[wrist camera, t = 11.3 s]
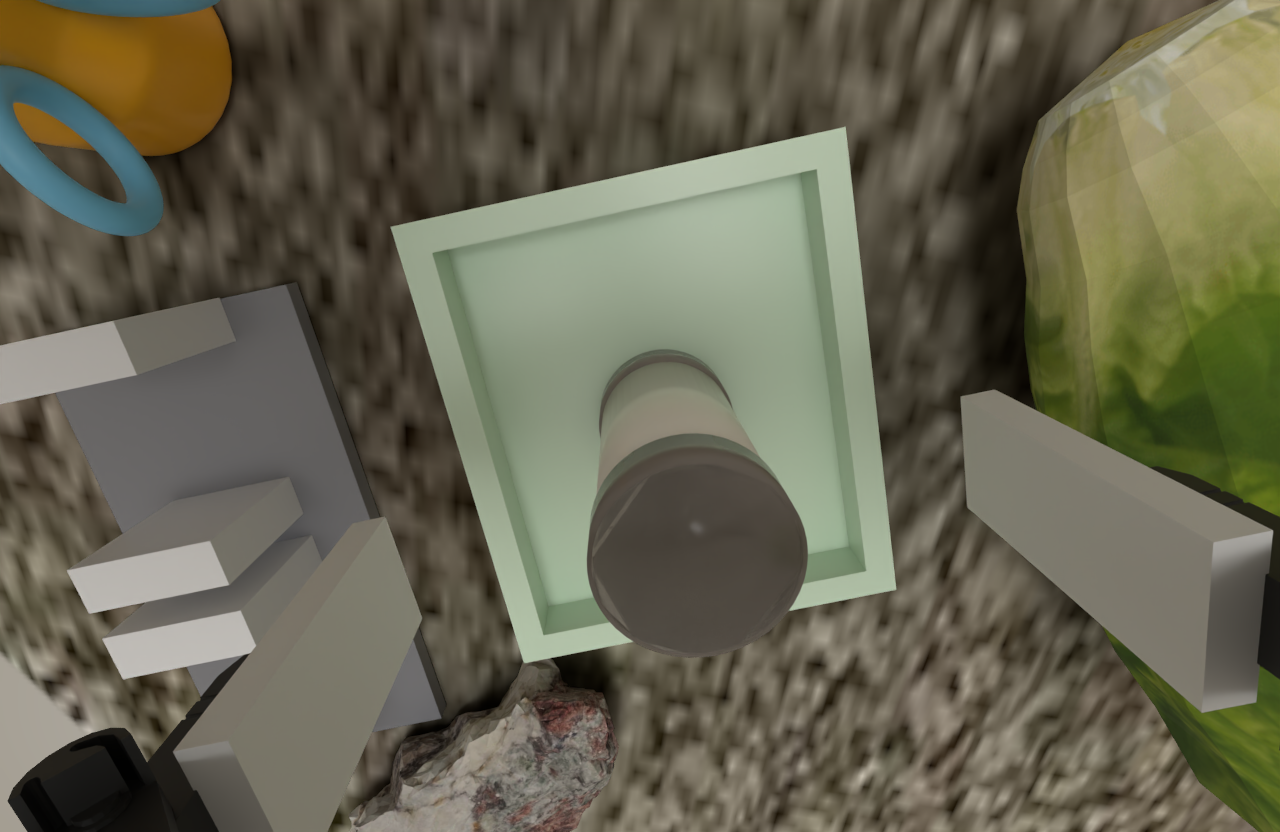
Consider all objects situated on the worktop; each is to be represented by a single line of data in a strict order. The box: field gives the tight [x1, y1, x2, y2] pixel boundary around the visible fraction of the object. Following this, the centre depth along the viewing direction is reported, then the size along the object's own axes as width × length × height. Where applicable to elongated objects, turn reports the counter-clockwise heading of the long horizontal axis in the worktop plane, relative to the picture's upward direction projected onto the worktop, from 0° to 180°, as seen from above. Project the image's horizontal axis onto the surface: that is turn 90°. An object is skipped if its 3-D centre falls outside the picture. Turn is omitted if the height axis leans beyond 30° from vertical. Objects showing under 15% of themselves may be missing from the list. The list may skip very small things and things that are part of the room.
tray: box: [391, 127, 896, 663], centre depth 24 cm, size 16×14×2 cm
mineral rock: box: [349, 658, 619, 832], centre depth 28 cm, size 15×8×4 cm, turn 124°
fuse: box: [587, 349, 808, 658], centre depth 19 cm, size 5×5×11 cm
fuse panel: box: [0, 282, 446, 732], centre depth 23 cm, size 18×9×6 cm, turn 12°
